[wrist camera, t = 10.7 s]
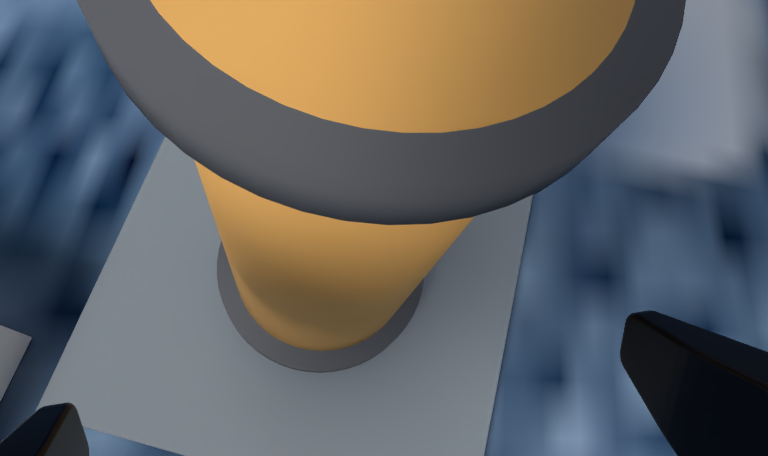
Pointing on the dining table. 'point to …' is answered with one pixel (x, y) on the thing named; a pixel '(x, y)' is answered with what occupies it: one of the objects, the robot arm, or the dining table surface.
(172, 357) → the grey mat
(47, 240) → the dining table surface
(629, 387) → the dining table surface
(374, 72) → the cable reel
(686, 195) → the dining table surface
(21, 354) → the holder sleeve
